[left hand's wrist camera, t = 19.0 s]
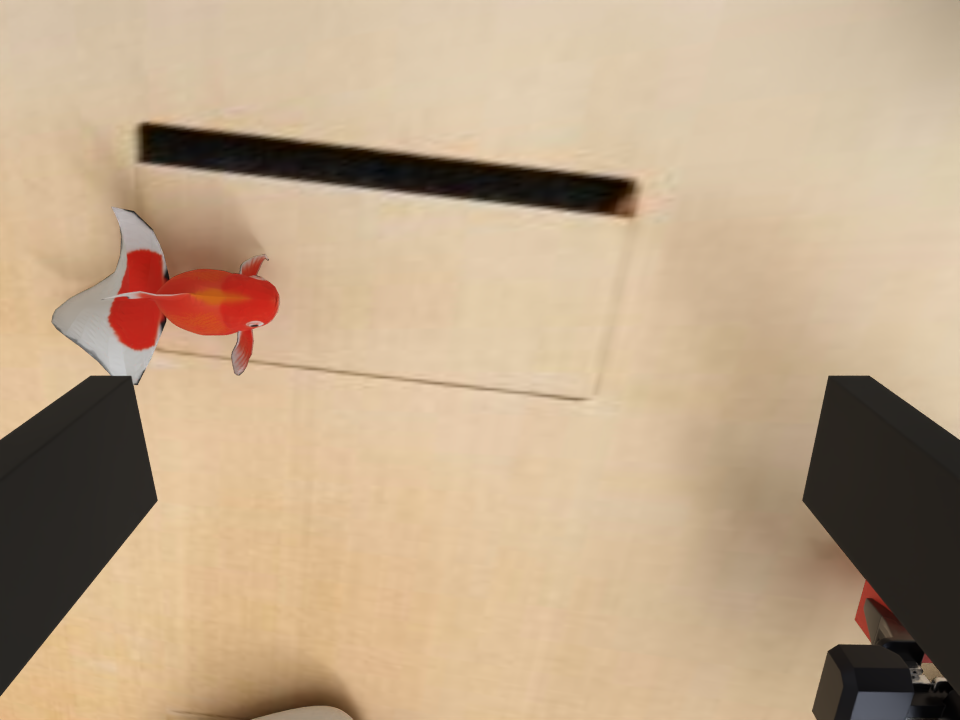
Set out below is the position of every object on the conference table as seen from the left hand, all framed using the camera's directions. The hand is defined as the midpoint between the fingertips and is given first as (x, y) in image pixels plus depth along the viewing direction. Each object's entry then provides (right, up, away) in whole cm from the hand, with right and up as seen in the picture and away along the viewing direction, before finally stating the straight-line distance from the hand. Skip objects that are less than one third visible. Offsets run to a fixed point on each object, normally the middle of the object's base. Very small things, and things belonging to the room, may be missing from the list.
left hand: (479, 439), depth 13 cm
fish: (-20, +6, +33) cm, 39 cm away
